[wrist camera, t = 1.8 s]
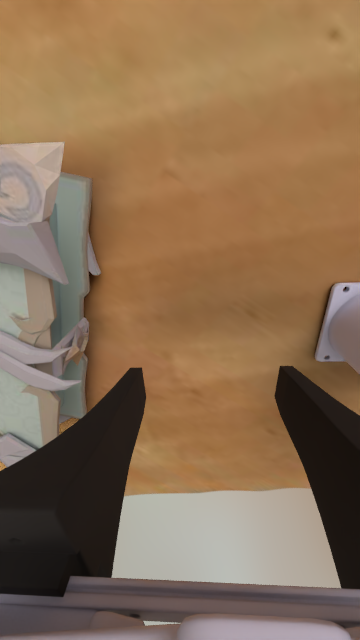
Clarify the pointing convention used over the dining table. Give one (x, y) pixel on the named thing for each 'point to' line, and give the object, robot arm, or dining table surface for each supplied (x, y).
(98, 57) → the dining table surface
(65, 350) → the ornate book
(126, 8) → the dining table surface
